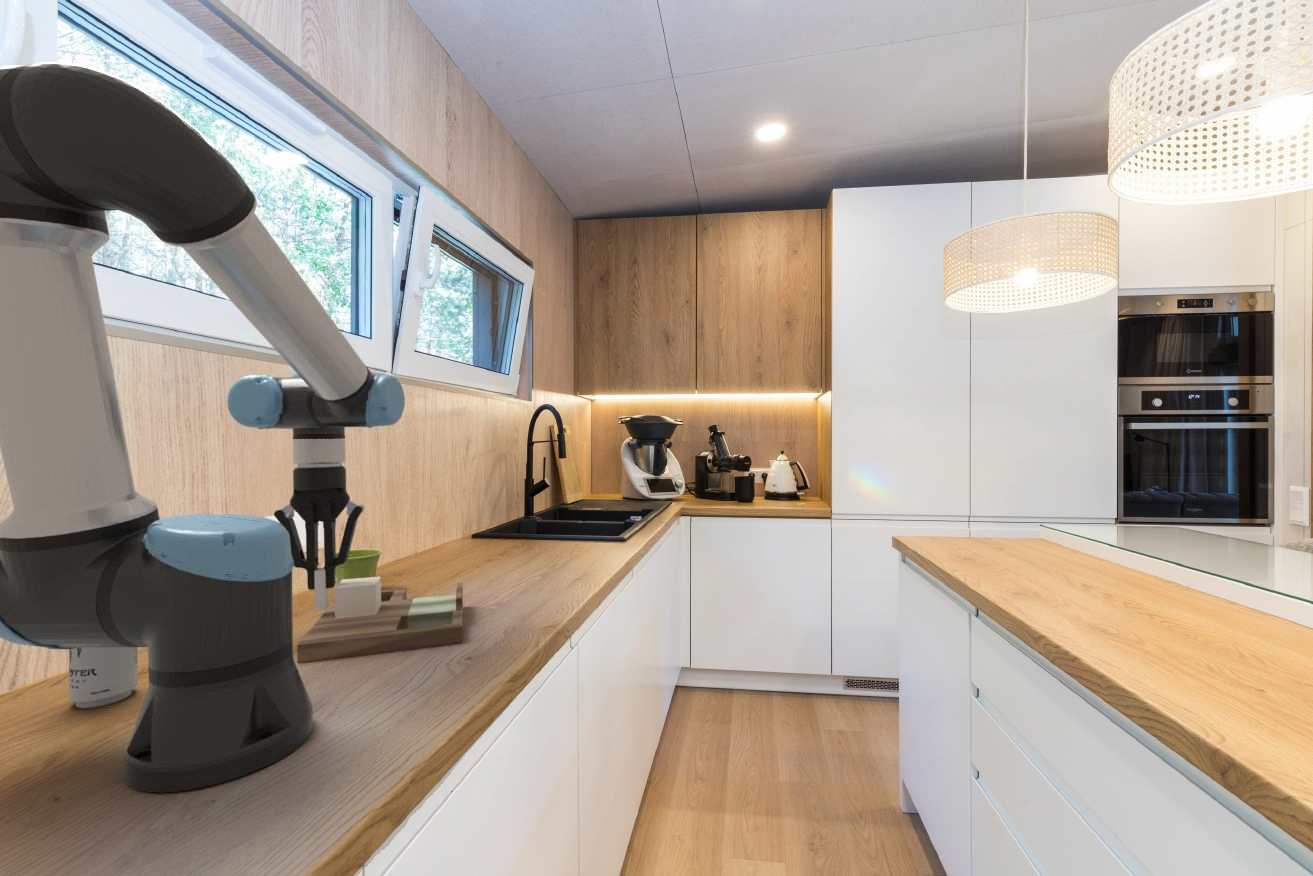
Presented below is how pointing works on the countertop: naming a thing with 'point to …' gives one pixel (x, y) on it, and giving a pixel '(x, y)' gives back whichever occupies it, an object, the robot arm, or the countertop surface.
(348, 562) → the plant pot
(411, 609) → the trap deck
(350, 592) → the block
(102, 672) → the energy drink can
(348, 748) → the countertop surface
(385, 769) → the countertop surface
